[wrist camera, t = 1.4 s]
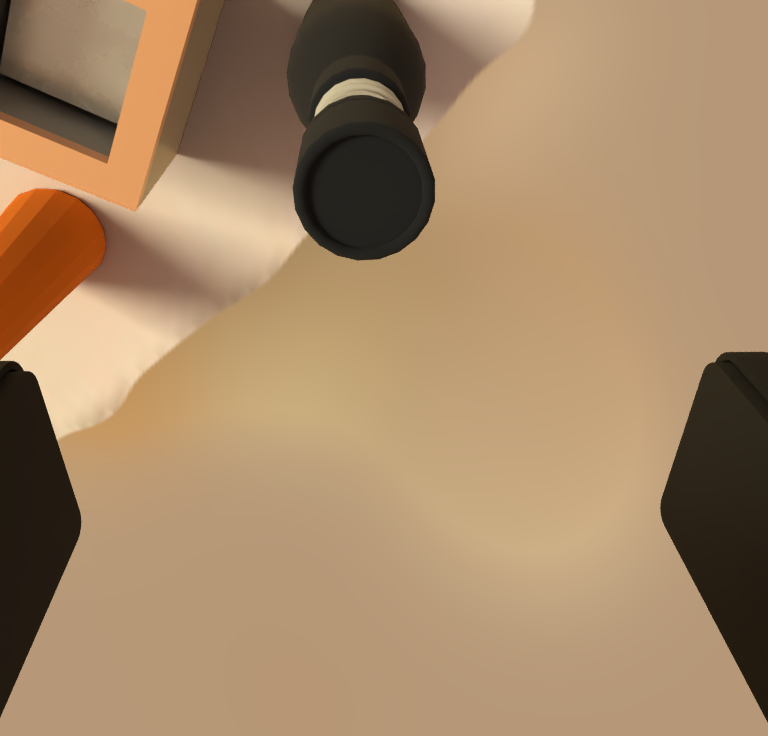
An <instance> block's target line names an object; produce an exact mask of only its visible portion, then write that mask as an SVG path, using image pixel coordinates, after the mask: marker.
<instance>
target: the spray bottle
mask: <svg viewBox="0 0 768 736" xmlns="http://www.w3.org/2000/svg"><path fill="white" fill-rule="evenodd" d="M105 250H106V244H105V237H104V230H103V228H102V226H101V225H100V223H99V221H98V219H97V218H96V216H95V214H94V213H93V212H92V211H91V210H90V209H89V208H88V207H87V206H85V205H84V204H83V203H82V202H81V201H80V200H79V199H77V198H75V197H73V196H70V195H68V194H66V193H63V192H61V191H59V190H50V189H34V190H31V191H28V192H25V193H22V194H19V195H18V196H17V197H16V198H15V199H14V200H13V201H12V203H11V204H10V205H9V206H8V207H7V208H6V209H5V211H4V212H3V213H2V214H1V216H0V360H1V359H2V358H3V357H4V356H5V355H6V354H7V353H8V352H9V351H10V350H11V349H12V348H13V347H14V346H15V345H16V344H17V343H18V342H19V341H20V340H21V339H23V338H24V337H25V336H26V335H27V334H28V333H29V332H30V331H31V330H32V329H33V328H34V327H35V326H36V325H37V324H38V323H39V322H40V321H41V320H42V319H43V318H44V317H46V316H47V315H48V314H49V313H50V312H51V311H52V310H53V309H54V308H55V307H56V306H57V305H58V304H59V303H60V302H61V301H62V300H63V299H64V298H65V297H66V296H67V295H68V294H70V293H71V292H72V291H73V290H74V289H75V288H76V287H77V286H78V285H79V284H80V283H81V282H82V281H83V280H84V279H85V278H86V277H87V276H88V275H89V274H90V273H91V272H93V271H94V270H95V269H96V268H97V267H98V266H99V265H100V264H101V262H102V259H103V256H104V253H105Z"/></svg>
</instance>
